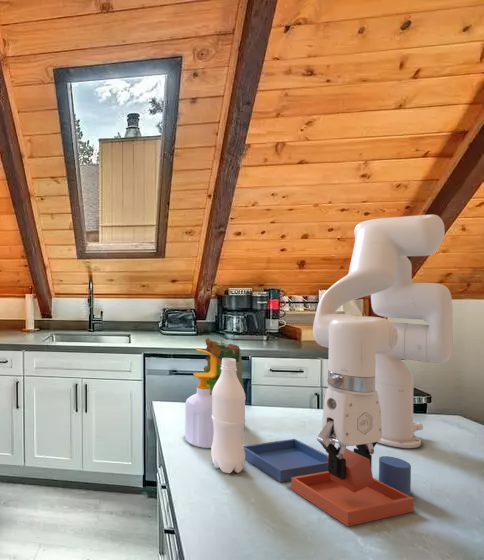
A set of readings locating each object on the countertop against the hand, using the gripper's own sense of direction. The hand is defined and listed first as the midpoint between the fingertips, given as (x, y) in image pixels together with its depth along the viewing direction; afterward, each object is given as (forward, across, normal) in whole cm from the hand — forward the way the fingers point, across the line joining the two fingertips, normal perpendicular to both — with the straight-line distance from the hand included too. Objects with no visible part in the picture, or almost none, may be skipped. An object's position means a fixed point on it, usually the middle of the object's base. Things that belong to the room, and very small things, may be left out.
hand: (349, 473), depth 75 cm
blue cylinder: (+5, +12, 0) cm, 13 cm away
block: (+2, +1, 0) cm, 2 cm away
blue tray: (+5, 0, +15) cm, 16 cm away
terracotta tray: (+5, 0, 0) cm, 5 cm away
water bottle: (+6, -15, +17) cm, 23 cm away
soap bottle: (+6, -12, +31) cm, 34 cm away
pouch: (+5, +1, +40) cm, 40 cm away
